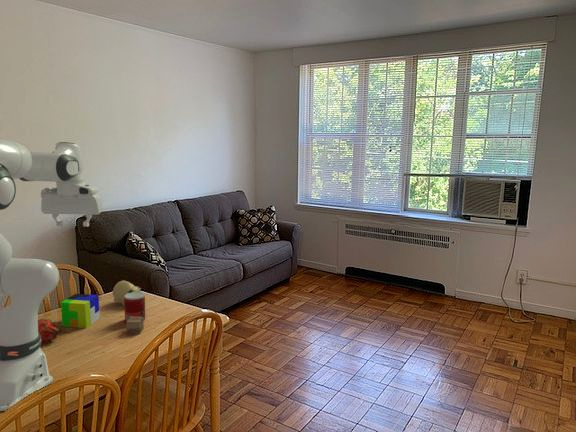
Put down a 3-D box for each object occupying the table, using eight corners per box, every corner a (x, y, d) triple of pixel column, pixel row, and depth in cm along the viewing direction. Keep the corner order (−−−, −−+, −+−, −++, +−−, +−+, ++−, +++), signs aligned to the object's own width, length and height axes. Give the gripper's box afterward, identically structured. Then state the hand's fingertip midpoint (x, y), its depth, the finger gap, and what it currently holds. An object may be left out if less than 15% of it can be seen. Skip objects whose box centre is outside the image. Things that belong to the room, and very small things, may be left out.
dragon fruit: (35, 339, 166) (58, 350, 161) (18, 334, 158) (42, 345, 154) (48, 317, 169) (70, 328, 164) (32, 312, 161) (55, 322, 157)
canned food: (146, 322, 179) (145, 297, 177) (125, 325, 176) (124, 299, 174) (144, 315, 186) (144, 290, 184) (124, 317, 183) (123, 292, 181)
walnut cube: (140, 334, 169) (139, 321, 168) (126, 333, 169) (126, 321, 168) (143, 328, 174) (143, 316, 173) (130, 328, 174) (130, 316, 173)
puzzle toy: (99, 317, 183) (98, 295, 181) (86, 328, 173) (85, 304, 171) (76, 316, 183) (75, 293, 182) (62, 326, 174) (60, 302, 172)
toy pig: (130, 309, 192) (130, 286, 190) (108, 305, 196) (107, 282, 194) (145, 301, 201) (144, 279, 199) (123, 298, 205) (122, 276, 203)
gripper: (36, 188, 153) (38, 227, 155) (96, 190, 154) (97, 228, 156) (44, 186, 159) (47, 223, 161) (102, 187, 160) (104, 224, 162)
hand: (72, 226), depth 159 cm, fingers open, 8 cm apart
